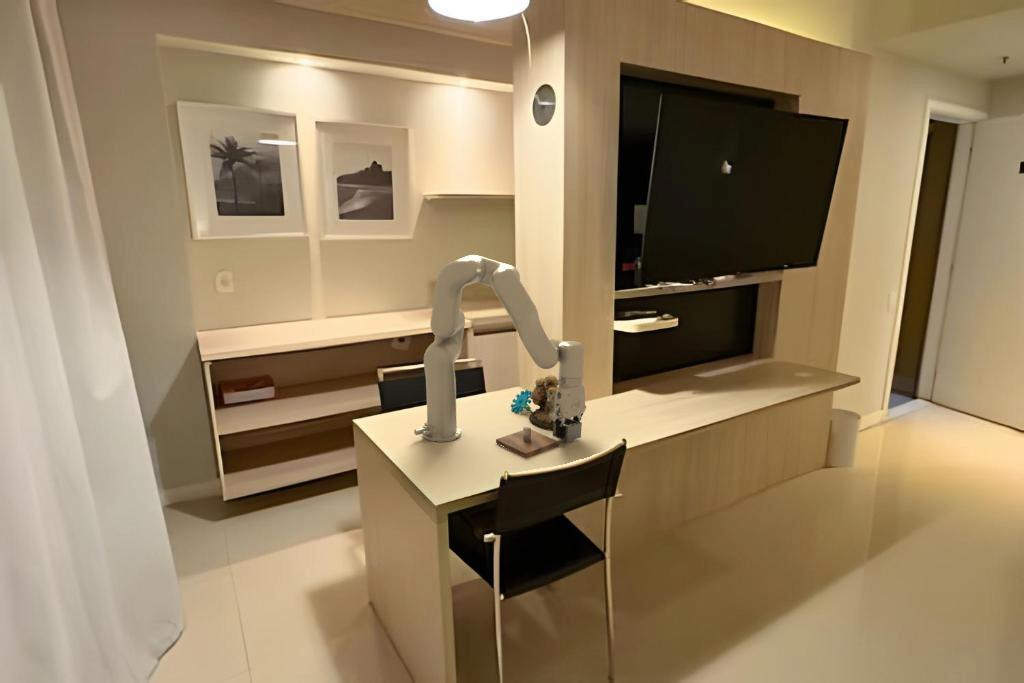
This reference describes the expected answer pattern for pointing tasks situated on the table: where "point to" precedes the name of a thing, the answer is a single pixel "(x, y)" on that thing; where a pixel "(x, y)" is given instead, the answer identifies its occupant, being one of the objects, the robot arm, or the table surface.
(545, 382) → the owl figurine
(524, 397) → the blue flower cluster
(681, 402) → the table surface
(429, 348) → the robot arm
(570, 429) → the collar
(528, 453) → the post base
